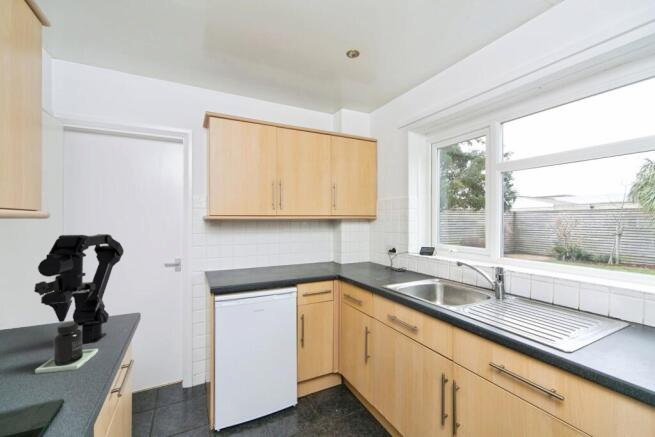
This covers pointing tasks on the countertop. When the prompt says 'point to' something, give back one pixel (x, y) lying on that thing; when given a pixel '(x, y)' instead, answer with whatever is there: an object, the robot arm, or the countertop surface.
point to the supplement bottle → (68, 344)
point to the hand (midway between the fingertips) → (70, 317)
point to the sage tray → (51, 366)
